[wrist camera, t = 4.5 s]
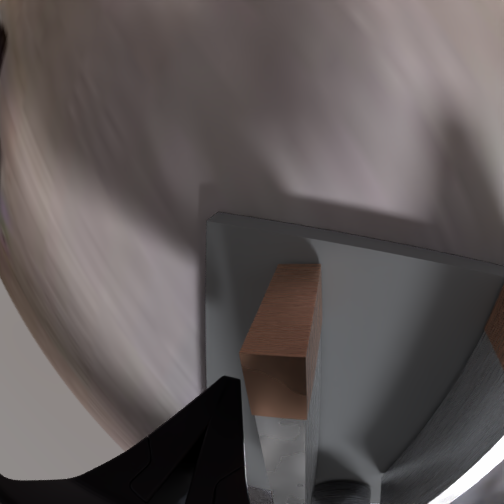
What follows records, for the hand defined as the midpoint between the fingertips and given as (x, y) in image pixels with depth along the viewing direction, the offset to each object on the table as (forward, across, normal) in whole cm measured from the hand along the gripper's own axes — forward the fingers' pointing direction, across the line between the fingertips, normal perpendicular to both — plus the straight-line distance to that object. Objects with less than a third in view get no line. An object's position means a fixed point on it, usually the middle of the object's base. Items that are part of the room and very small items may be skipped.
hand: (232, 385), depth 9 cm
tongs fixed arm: (+2, -9, +2) cm, 9 cm away
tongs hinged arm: (+2, -5, +5) cm, 7 cm away
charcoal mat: (+3, -7, +5) cm, 9 cm away
